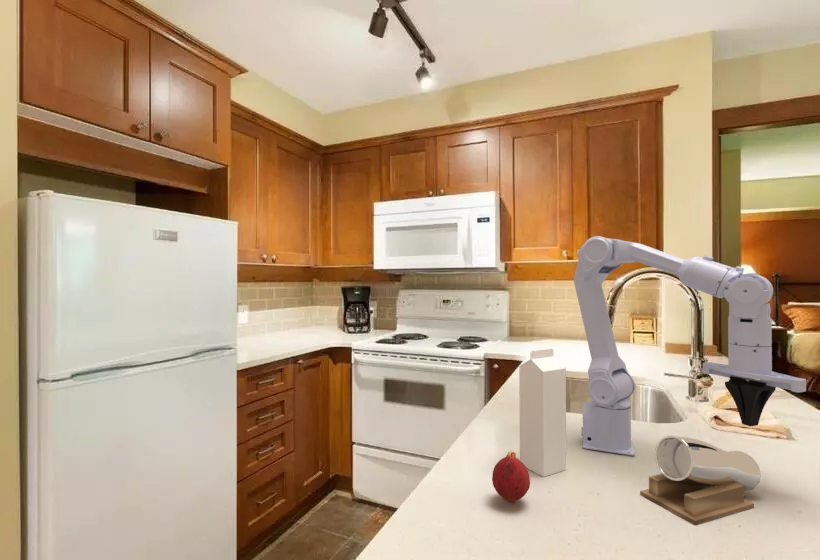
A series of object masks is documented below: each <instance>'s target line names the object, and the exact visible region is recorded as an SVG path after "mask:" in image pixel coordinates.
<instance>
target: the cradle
mask: <svg viewBox="0 0 820 560" xmlns="http://www.w3.org/2000/svg"><path fill="white" fill-rule="evenodd" d="M639 495H640V496H642V497H644V498H646V499H647V500H649V501H651V502H652V503H654V504H656V505H658V506H659V507H662V508H663V509H665V510H667V511H669V512H671V513H672V514H674V515H676V516H678V517H680V518H681V519H683V520H685V521H687V522H689V523H690V524H692V525H693V526H697V525H700V524H703V523H707V522H711V521H713V520H717V519H719V518H723V517H727V516H729V515H734V514H737V513H740V512H745V511H747V510H750V509H753V508H755V503H754V502H751V501H750V500H748V499H745V491H744V486H743V485H740V484H738V483H736V482H732V483H727V484H722V485H718V486H709V487H703V486H694V485H690V484H685V483H682V482H678V481H674V480H671V479H669V478H667V477H666V476H664V475H663V474H662V473H660V474H655V475H652V476H651V475H650V476H649V477H648V488H647V489H642V490H640V491H639Z"/></svg>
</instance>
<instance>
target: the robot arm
mask: <svg viewBox="0 0 820 560" xmlns="http://www.w3.org/2000/svg"><path fill="white" fill-rule="evenodd" d="M577 255H578V260H577V265H576V269H575V273H574V276H573V283H574V288H575V292H576V297H577V301H578V305H579V309H580V310H579V311H580V314H581V318H582V323H583V327H584V331H585V336H586V342H587V345H588V350H589V353H590V357H591V361H590V364H589V366H588V369H587V374H588V383H587V393H588V396H589V397H590V399H591V401H583V402H582V427H581V432H580V433H581V437H582V448H583V449H585V450H592V451H599V452H600V451H601V452H604V453H605V452H606V453H613V454H619V455H624V456H625V455H626V456H632V457H633V456H635V450H634V449H635V448H634V446H633V444H634V443H633V441H632V421H631V420H632V416H631V414H632V410H631V409H632V408H631V405H632V404H631V401H630V397H631V396H632V395H633V394H634V392H635V389H636V383H635V380H634V378H633V376H632V375H631V374H630V372H629V371H628V369H627V366H626V363H625V362H624V360H623V359H622V358H621V357H620V356H619V352H618V348H617V345H616V340H615V336H614V332H613V331H614V330H613V327H612V323H611V319H610V314H609V311H608V305H607V302H606V299H605V294H604V290H603V289H604V288H603V283H604V282H605V280H606V279H607V278H608V276H609V275H610V274H611V273H612V272H614V271H616V270H617V269H619V268H620V267H621V266H623V265H624V264H633V263H640V264H642V265H645V266H649V267H651V268H655V269H658V270H661V271H664V272H667V273H670V274H673V275H676V276H677V277H678V278H679V281H680V283H681V284H682V286H686V287H689V288H690V289H694V290H696V291H699V292H701V293H704V294H707V295H710V296H712V297H715V298H718V299H723V298H725V300H726V301H727V303H728V317H727V329H728V330H727V341H728V343H727V345H728V346H727V348H728V349H727V350H728V351H727V352H728V354H727V356H728V359H727V361H728V362H727V363H728V364H724V363H716V362H712V361H711V362H703V363H702V374H705V375H714V376H719V377H724V378H727V379H728V378H729V379H728V380H727V381H725V382H724V386H725V388H726V390H727V391H728V392H729V393H730V396H731V398H732V399H733V401H734V403H735V405H736V409H737V412H738V414H739V417H740V420H741V421H740V422H741V424H742V425H744V426H749V427H755V426H758V425H759V423H760V418H761V416H762V413H763V410H764V408H765V406H766V404H767V403H768V401H769V399H770V398H771V396H772V395H773V393H774V392H775V391H776V389H777V388H779V389H784V390H789V391H791V392H793V393H797V394H799V393H804V392H807V379H806V378H803V377H802V378H801V377H796V376H793V375H789V374H784V373H780V372H776V371H773V362H772V361H773V355H772V354H773V353H772V352H773V347H772V344H773V339H772V337H773V336H772V335H773V333H772V329H773V328H772V327H773V326H772V325H773V323H772V317H771V312H772V308H771V304H770V303H768V302H770V301H771V299H772V297H773V296H774V295H773V294H774V287H773V284H772V283H771V282H770V280H769V279H767V278H766V277H764V276H762V275H760V274H758V273H756V272H750V273H749V272H747V273H744V271H745V268H744V267H742V266H739V265H738V266H736V267H732V266H729V265H726V264H723V263H721V262H718V261H717V262H716V261H714V257H712V256H709V255H704V256H703V257H701V256H697V255H696V256H694V257H691V258H687V259H684V258H681V257H678V256H676V255H673V254H670V253H668V252H664V251H661V250H659V249H657V248H654V247H651V246H648V245H646V244H642V243H640V242H633V241H625V240H622V239H618V238H607V237H604V236H600V235H595V236H592V237H590V238H588V239H587V240H586V241H585V242H584V243H583V244H582V246H581V247H580V248H579V249H578V250H577Z"/></svg>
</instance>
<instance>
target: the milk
mask: <svg viewBox="0 0 820 560" xmlns="http://www.w3.org/2000/svg"><path fill="white" fill-rule="evenodd" d="M518 367H519V375H518V379H519V380H518V381H519V382H518V383H519V386H518V387H519V388H518V389H519V391H518V392H519V460H520V461H521V462H522V463H523V464H524V465H525V466H526V468H527V470H529V469H530V471H531V470H532V472H533V473H535V474H537V475H539V476H540V477H542V478H545V477H548V476H551V475H554V474H557V473H560V472H563V471H566V470H567V392H566V391H567V378H566V377H567V375H566V374H567V370H566V367H565V366H564V364H563V363H561V362H560V361H559V360H558V359H557V358H556V357H555V356H554V348H547V349H545V348H544V349H538V350H531V351H530V359H529V360H527V361H525V362H524V363H521V364H519V366H518Z"/></svg>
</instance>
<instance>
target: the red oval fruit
mask: <svg viewBox="0 0 820 560" xmlns="http://www.w3.org/2000/svg"><path fill="white" fill-rule="evenodd" d="M516 456H517V454H516V452H515V451H514V450H510V451H508V452H507V454H506V456H505V457H503V458H501V459H500V460H498V462H497V463H496V464H495V465H494V468H493V470H492V476H491V480H492V481H491V482H492V486H493V488H494V490H495V491H496V493H497V495H499V497H500V498H502V499H503V500H505V501H506V502H508V503H509V504H514V503H516V502H517V501H519V500H521V499H522V498H524V497H525V495H527V493H528V491H529V489H530V486H531V478H530V473H529V469H528V468H526V466H525V465H524V464H523V463H522V462H521V461H520V459H518V458H517V457H516Z"/></svg>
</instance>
